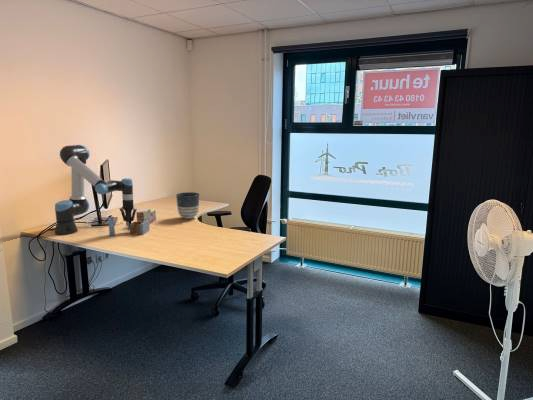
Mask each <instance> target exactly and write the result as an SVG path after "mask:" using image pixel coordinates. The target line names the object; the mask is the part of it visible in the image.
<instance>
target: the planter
mask: <svg viewBox="0 0 533 400" xmlns="http://www.w3.org/2000/svg"><path fill="white" fill-rule="evenodd" d="M175 198H176V206H177V212H178V215H179V216H180V217H181V218H182V219H187V220H190V219H194V218H195V217H196V216H197V215H198V213H199V211H200V209H199V208H200V193H198V192H194V191H190V192H185V191H184V192H180V193H179V192H178V193H176V195H175Z"/></svg>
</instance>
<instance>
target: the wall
mask: <svg viewBox="0 0 533 400" xmlns="http://www.w3.org/2000/svg"><path fill="white" fill-rule="evenodd" d="M140 231H141V234H140V235H143V236H144V235H145V234H147V233H148V232H149V231H150V224H149V220H146V221H144V222H143V223H141V224H140Z"/></svg>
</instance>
